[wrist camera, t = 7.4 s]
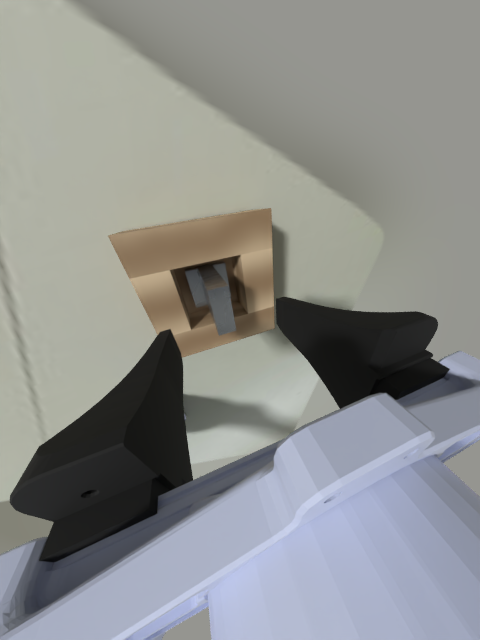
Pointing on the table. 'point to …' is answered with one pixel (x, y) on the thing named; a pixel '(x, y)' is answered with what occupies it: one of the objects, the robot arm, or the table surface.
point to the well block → (195, 250)
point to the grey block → (213, 293)
